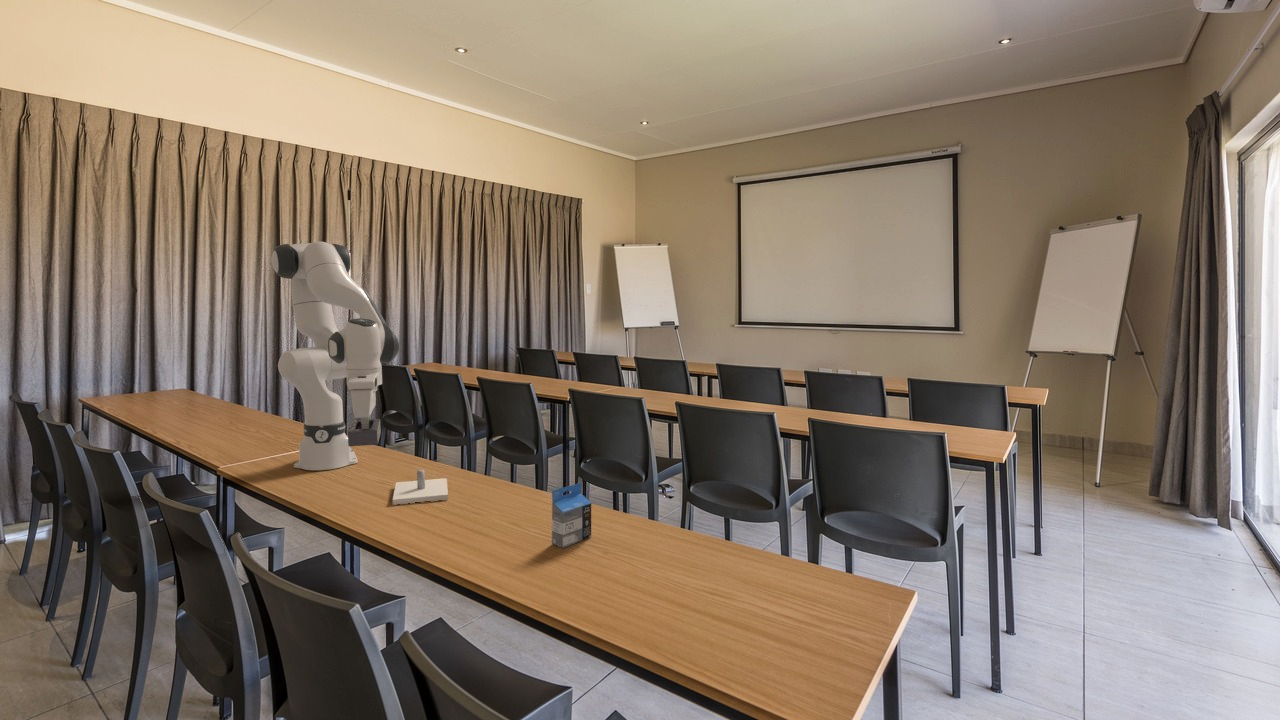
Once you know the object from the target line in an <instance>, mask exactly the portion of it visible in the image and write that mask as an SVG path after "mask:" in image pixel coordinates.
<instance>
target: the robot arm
mask: <svg viewBox="0 0 1280 720" xmlns="http://www.w3.org/2000/svg"><path fill="white" fill-rule="evenodd" d="M270 260H271V261H270V262H271V265H272V268H273V270H274V272H275V274H276V275H277V276H278V277H280V278H282V279H289V280H291V302H292V309H293V315H294V316H293V317H294V321H295V327H296V329H297V331H298V332H299V333H300V334H301V335H303V336H306V337H308V338H309V339H311V341H313V344H314V345H315V347H314V346H312V347H299V348H294V349H292V350H287V351H284V352H283V353H282V354H281V355H280V358H279V359H278V363H277V369H278V372H279V374H280V376H281V378H283V380H285V381H286V382H288V383H290V384H291V385H292V386H294V388H295V389H296V390H297V391H298V393H299V395H300V397H301V399H302V403H303V413H304V423H303V430H302V431H303V435H304V437H303V438H302V439H301V440H300V441H299V443H298V446H299V447H298V461H296V462H295V463H294V464H293V468H295V469H302V470H303V471H304V470H306V471H327V470H328V471H329V470H334V469H339V468H343V467H347V466H351V465H354V464H358V462H359V461H358V457H357V455H356V453H355V451H354V450H353V448H352V447H351V446H349V447H348V435H347V434H346V423H345V422H346V421H345V420H344V409H343V404H344V403H343V400H342V397H341V396H340V395H339V394H337V393H336V392H333V391H331V390H329V389H328V387H327V383H326V382H327V381H331V380H339V379H345V378H346V386H347V389H348V390H350V398H351V406H352V413H353V417H354V419H359V420H361V424H362V429H369V419H371V418H372V413H373V410H374V409H375V407H376V405H377V404H376V403H377V402H376V401H377V398H376V397H377V396H376V394H377V393H376V392H377V391H378V387H379V386H381V385H383V369H382V368H383V367H382V364H389V363H391V361H393V360H394V359H395V358H396V357H397V356H398V354H399V352H400V343H399V339H398V337H397V334H395V332H394V331H393V330H392V329H391V328H390V327H389V324H387V322H386V321H385V319H384V317H383V315H382V314H381V312H380V310H379V309H378V306H376V303H375V302H374V300H373V299H372V297H371V295H370V294H369V292H368V291H367V289H365V288H364V287H362V286H360V285H359V284H358V283H357V282H355V281H354V280H353V279H352V277H351V276H350V275H349V272H350V271H351V265H352V261H351V260H352V259H351V255H350V252H349V250H348V249H347V248H346V247H345V245H342V244H337V243H329V242H326V241H314V242H310V243H309V242H308V243H293V244H289V243H283V244H280V245H276V246H275V247H274V248H273V250H272V255H271V259H270ZM333 306H337V307H340V308H344V309H347V310H351V311H353V312H354V313H356V314H357V315H359V317H360V318H352V319H349V320H347V321H346V324H345V327H344V328H343V329H340V330H339V329H338V327H337V325H336V321H335V314H334V312H333V311H334V310H333Z"/></svg>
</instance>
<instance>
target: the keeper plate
mask: <svg viewBox="0 0 1280 720" xmlns="http://www.w3.org/2000/svg"><path fill="white" fill-rule="evenodd" d="M425 478H426V476H425V469H418V470H417V471H416V480H413V481H412V480H409V481H408V480H407V481H397V482H395V487H394V491H393V496H392V506H398V505H397V504H400V505H408V503H410V504H416V503H415V502H421V503H425V502H424V501H431V502H439V501H438V500H442V501H449V493H448V492H449V491H448V478H444V477H443V478H433V479H425Z"/></svg>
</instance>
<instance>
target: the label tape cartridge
mask: <svg viewBox="0 0 1280 720" xmlns="http://www.w3.org/2000/svg"><path fill="white" fill-rule="evenodd" d="M581 485H582V484H581V482H579V483H575V484H571V485H567V486H565V487H561V488H558V489H554V490H551V500H552V502H551V504H552V506H551V509H552V510H551V511H552V513H551V521H552V522H551V544H552V545H553V546H555V547H558V548H560V549H565V548H568V547H570V546H572V545H574V544H575V545H576V544H578V543H580V542H583V541H585V540H587V539H590V538H592V502H591V501H590V500H588V498H586V496H585V495H583V493H582V488H581ZM566 491H567V492H570V493H567V494H564V493H566Z"/></svg>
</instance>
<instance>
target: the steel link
mask: <svg viewBox="0 0 1280 720" xmlns="http://www.w3.org/2000/svg"><path fill="white" fill-rule="evenodd" d="M381 431H382V430H381V419H380V418H375V419H374V418H372V419H369V429H362V424H361V419H354V420H351V422H350V425H349V428H348V430H347V437H348V447H349V446H350V447H362V446H363V447H364V446H375V445H376V446H378V444H379V441H380V437H381V433H382V432H381Z"/></svg>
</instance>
